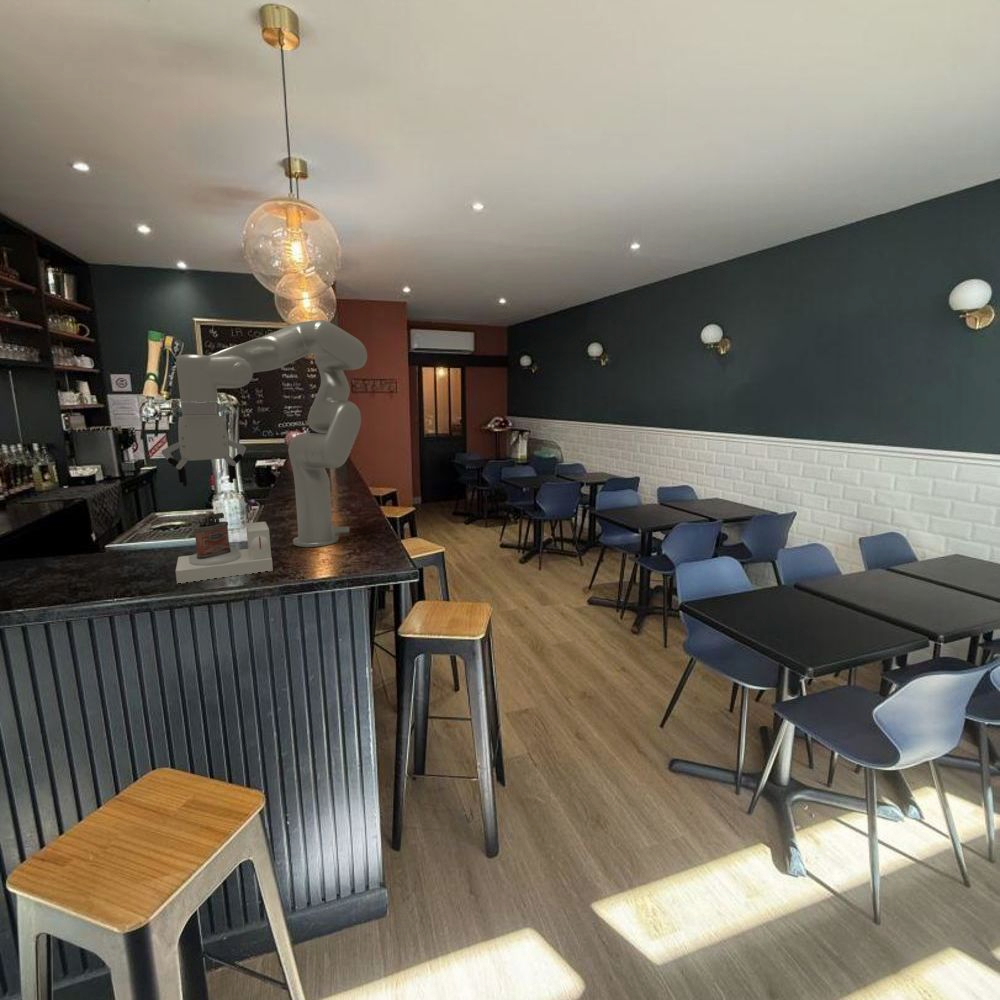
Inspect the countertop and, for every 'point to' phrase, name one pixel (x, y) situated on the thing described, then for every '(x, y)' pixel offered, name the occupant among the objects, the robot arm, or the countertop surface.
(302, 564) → the countertop surface
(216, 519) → the lighter
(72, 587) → the countertop surface
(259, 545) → the kitchen scale
